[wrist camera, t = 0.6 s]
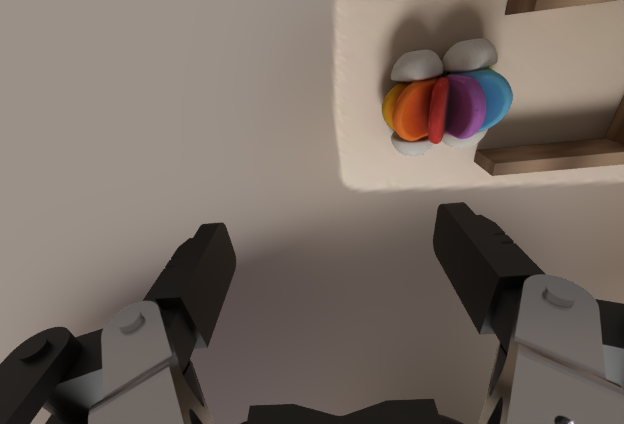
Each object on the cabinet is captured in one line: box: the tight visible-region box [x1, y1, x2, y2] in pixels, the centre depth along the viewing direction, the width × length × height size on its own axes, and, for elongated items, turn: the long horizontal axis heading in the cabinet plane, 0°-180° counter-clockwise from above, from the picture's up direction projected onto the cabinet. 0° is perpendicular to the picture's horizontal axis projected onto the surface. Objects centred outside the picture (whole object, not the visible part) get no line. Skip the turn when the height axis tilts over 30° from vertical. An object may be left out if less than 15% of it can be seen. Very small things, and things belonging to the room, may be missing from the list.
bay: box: [474, 0, 624, 176], centre depth 23 cm, size 13×14×4 cm
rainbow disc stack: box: [382, 38, 513, 156], centre depth 22 cm, size 8×10×7 cm
